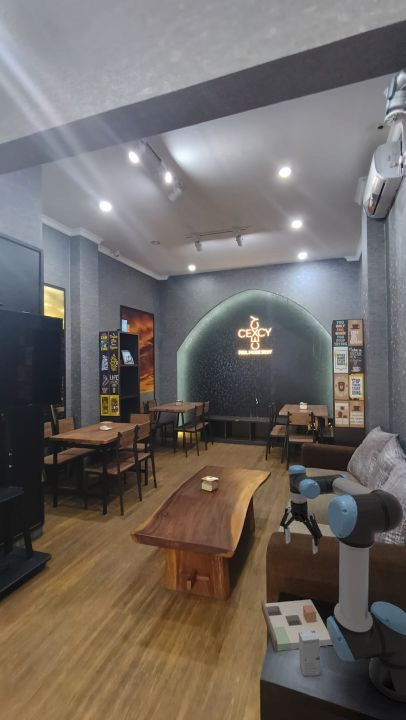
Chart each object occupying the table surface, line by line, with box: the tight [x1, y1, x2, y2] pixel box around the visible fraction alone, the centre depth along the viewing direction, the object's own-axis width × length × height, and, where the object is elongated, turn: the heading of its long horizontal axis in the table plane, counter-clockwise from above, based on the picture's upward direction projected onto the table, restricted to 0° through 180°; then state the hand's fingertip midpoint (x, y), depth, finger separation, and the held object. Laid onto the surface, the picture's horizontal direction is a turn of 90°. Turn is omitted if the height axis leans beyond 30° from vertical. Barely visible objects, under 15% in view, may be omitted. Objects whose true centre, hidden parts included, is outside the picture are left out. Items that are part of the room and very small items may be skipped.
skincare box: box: [298, 630, 321, 677], centre depth 120 cm, size 6×4×12 cm
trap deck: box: [260, 599, 333, 652], centre depth 140 cm, size 22×22×4 cm
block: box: [303, 604, 317, 623], centre depth 140 cm, size 4×4×4 cm
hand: (301, 547), depth 157 cm, fingers open, 13 cm apart
